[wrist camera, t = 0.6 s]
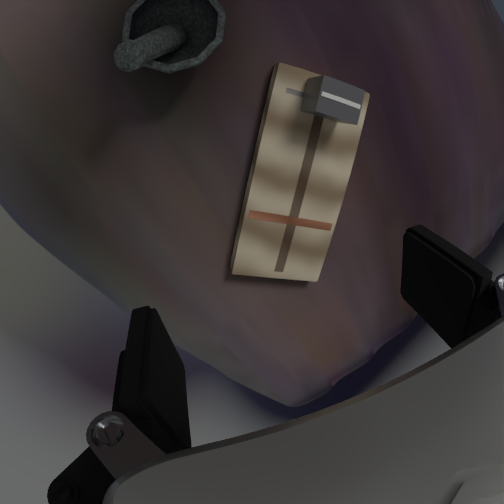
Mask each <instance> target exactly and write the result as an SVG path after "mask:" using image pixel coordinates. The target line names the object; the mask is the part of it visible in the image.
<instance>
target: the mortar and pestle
mask: <svg viewBox="0 0 504 504" xmlns="http://www.w3.org/2000/svg"><path fill="white" fill-rule="evenodd" d="M225 18H226V11H225V10H224V9H223V7H222V6H221V5H220V3H219V2H218V1H217V0H137V1H136V2H135V3H134V4H133V5H132V6H131V7H130V8H129V9H128V10H127V11H126V13H125V19H124V26H123V33H122V42H123V43H121V44H119V45H118V46H117V48H116V50H115V52H114V63H115V64H116V66H117V67H118V68H119V70H122V71H126V72H132V71H134V70H137V69H139V68H141V67H142V66H143V67H147V68H150V69H154V70H157V71H161V72H164V73H168V74H171V73H174V72H177V71H181V70H185V69H188V68H192V67H196V66H199V65H201V64H202V63H203V62H204V61H205V60H206V59H207V58H208V57H209V56H210V54H211V53H212V52H213V51H214V50H215V49H216V48H217V47H218V46H219V45H220V44H221V43H222V41H223V37H224V27H225Z"/></svg>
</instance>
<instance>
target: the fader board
mask: <svg viewBox="0 0 504 504" xmlns="http://www.w3.org/2000/svg"><path fill="white" fill-rule="evenodd" d="M317 76H321V75H319V74H316V73H313V72H310V71H307V70H304V69H300V68H297V67H294V66H290V65H287V64H284V63H280V62H279V63H277V64H275V65H274V69H273V73H272V77H271V81H270V85H269V90H268V94H267V98H266V103H265V107H264V111H263V116H262V120H261V124H260V129H259V133H258V137H257V142H256V146H255V151H254V155H253V160H252V164H251V169H250V173H249V178H248V182H247V187H246V191H245V196H244V201H243V205H242V210H241V215H240V219H239V224H238V229H237V233H236V238H235V243H234V248H233V253H232V257H231V262H230V270H231V273H232V274H236V275H247V276H257V277H268V278H279V279H291V280H303V281H315V282H317V280H318V278H319V275H320V272H321V269H322V266H323V263H324V260H325V256H326V253H327V250H328V247H329V244H330V241H331V238H332V235H333V231H334V228H335V225H336V222H337V218H338V215H339V212H340V208H341V205H342V201H343V198H344V194H345V191H346V187H347V184H348V180H349V177H350V173H351V169H352V166H353V162H354V158H355V154H356V150H357V147H358V143H359V139H360V135H361V131H362V127H363V122H364V118H365V114H366V110H367V105H368V101H369V97H370V94H369V93H367V92H365V94H364V99H363V103H362V108H361V112H360V116H359V120H358V125H353V124H346V123H338V122H335V121H332V120H329V119H326V118H323V117H319V116H316V115H313V114H309V113H306V112H302V111H300V109H301V105H302V101H303V96H304V92H305V88H306V83H307V79H308V78H312V77H317Z"/></svg>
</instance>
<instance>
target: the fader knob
mask: <svg viewBox="0 0 504 504" xmlns="http://www.w3.org/2000/svg"><path fill="white" fill-rule="evenodd" d="M364 94H365V90H362V89H360V88H357V87H355V86H352V85H350V84H347V83H345V82H342V81H339V80H337V79H334V78H331V77H328V76H325V75H321V76H317V77H312V78H308V79H307V83H306V88H305V92H304V96H303V101H302V105H301V109H300V111H302V112H306V113H309V114H313V115H316V116H319V117H323V118H326V119H329V120H332V121H335V122H338V123H346V124H353V125H358V120H359V116H360V112H361V108H362V103H363V99H364Z"/></svg>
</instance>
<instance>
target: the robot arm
mask: <svg viewBox="0 0 504 504" xmlns="http://www.w3.org/2000/svg"><path fill="white" fill-rule="evenodd" d="M492 274H493V272H492V271H490V270H489V269H487V268H486V267H485V266H483V265H482V264H480V263H479V262H478V261H476V260H475V259H473V258H472V257H470V256H469V255H467V254H466V253H464V252H463V251H461V250H460V249H458V248H457V247H455V246H454V245H452V244H451V243H449V242H448V241H446V240H445V239H443V238H442V237H440V236H438V235H437V234H435V233H434V232H432V231H430V230H429V229H427V228H426V227H424V226H422V225H416V226H413V227H410V228H408V229H407V230H406V233H405V234H404V236H403V259H402V277H401V295H402V297H403V299H404V300H405V301H406V302H407V303H408V304H409V305H410V306H411V307H412V308H413V309H414V310H415V311H416V312H417V313H418V314H419V315H420V316H421V317H422V318H423V319H424V320H425V321H426V322H427V323H428V324H429V325H430V326H431V327H432V328H433V329H434V330H435V332H436V333H437V334H439V336H440V337H441V338H442V339H443V340H444V341H445V342H446V343H447V344H448V345H449V346H450V348H452V349H450V350H448V351H446V352H445V353H443V354H441V355H439V356H438V357H436V358H434V359H432V360H430V361H429V362H427V363H425V364H423V365H421V366H419V367H417V368H415V369H414V370H412V371H410V372H408V373H406V374H404V375H402V376H400V377H398V378H396V379H393V380H391V381H389V382H387V383H385V384H383V385H381V386H378V387H376V388H374V389H372V390H369V391H367V392H365V393H363V394H360V395H358V396H356V397H353V398H351V399H348V400H346V401H343V402H341V403H338V404H336V405H334V406H331V407H328V408H325V409H323V410H320V411H317V412H314V413H312V414H309V415H306V416H303V417H300V418H297V419H294V420H291V421H288V422H285V423H282V424H279V425H275V426H272V427H269V428H265V429H262V430H258V431H255V432H251V433H248V434H244V435H241V436H237V437H233V438H229V439H225V440H221V441H217V442H213V443H208V444H204V445H200V446H196V447H192V448H191V437H190V428H189V417H188V406H187V394H186V380H185V369H184V365H183V362H182V360H181V358H180V356H179V354H178V352H177V350H176V348H175V347H174V344H173V343H172V341H171V339H170V337H169V335H168V333H167V330H166V328H165V326H164V324H163V322H162V320H161V318H160V316H159V314H158V312H157V310H156V309H155V308H153V309H151V308H150V307H149V306H144V307H141V308H137V309H133V310H132V314H131V320H130V326H129V331H128V338H127V343H126V349H125V350H124V351H122V352H121V353H120V357H119V363H118V369H117V376H116V383H115V390H114V397H113V406H112V411H108V412H105V413H102V414H100V415H99V416H97V417H95V419H94V420H93V421H92V422H91V423H90V425H89V427H88V429H87V433H86V438H87V442H88V444H89V447H88V448H87V449H86V450H85V451H84V452H83V453H82V454H81V455H80V456H79V457H78V458H77V459H75V461H73V462H72V463H71V464H70V465H69V466H68V467H67V468H66V469H65V470H64V471H63V472H62V473H61V474H60V475H59V476H57V478H56V479H54V480H53V482H52V483H51V484H50V486H49V489H48V494H47V498H48V503H49V504H504V273H503V274H500V275H498V276H497V277H496V279H495V281H494V282H493V281H492V280H491V278H492Z"/></svg>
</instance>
